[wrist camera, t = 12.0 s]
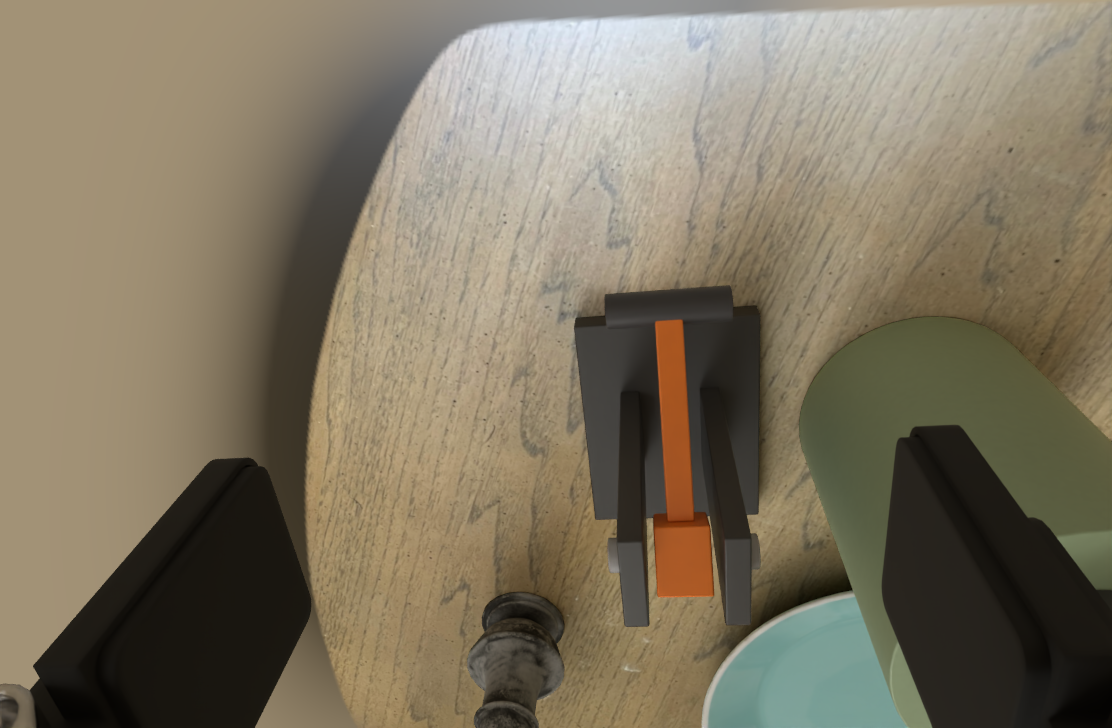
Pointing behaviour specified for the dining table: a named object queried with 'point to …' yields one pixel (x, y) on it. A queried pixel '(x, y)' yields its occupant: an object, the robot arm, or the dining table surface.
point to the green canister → (990, 422)
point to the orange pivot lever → (675, 428)
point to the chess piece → (516, 659)
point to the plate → (803, 673)
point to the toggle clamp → (637, 454)
